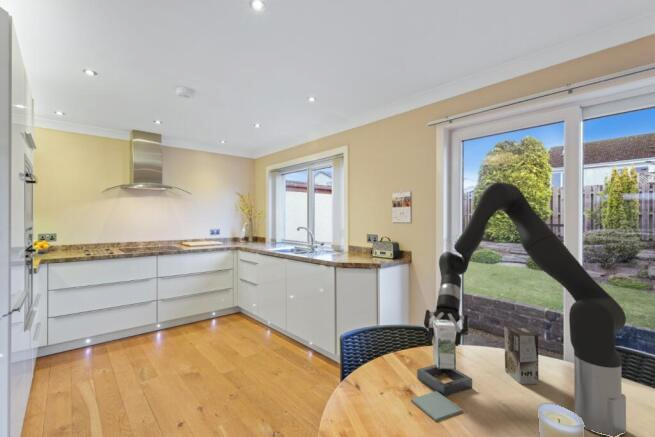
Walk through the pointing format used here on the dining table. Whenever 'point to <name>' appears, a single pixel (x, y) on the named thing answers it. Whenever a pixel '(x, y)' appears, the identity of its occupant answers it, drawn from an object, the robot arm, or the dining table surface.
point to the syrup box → (444, 344)
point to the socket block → (444, 389)
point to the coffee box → (521, 354)
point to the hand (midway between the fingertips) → (443, 342)
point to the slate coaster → (436, 405)
